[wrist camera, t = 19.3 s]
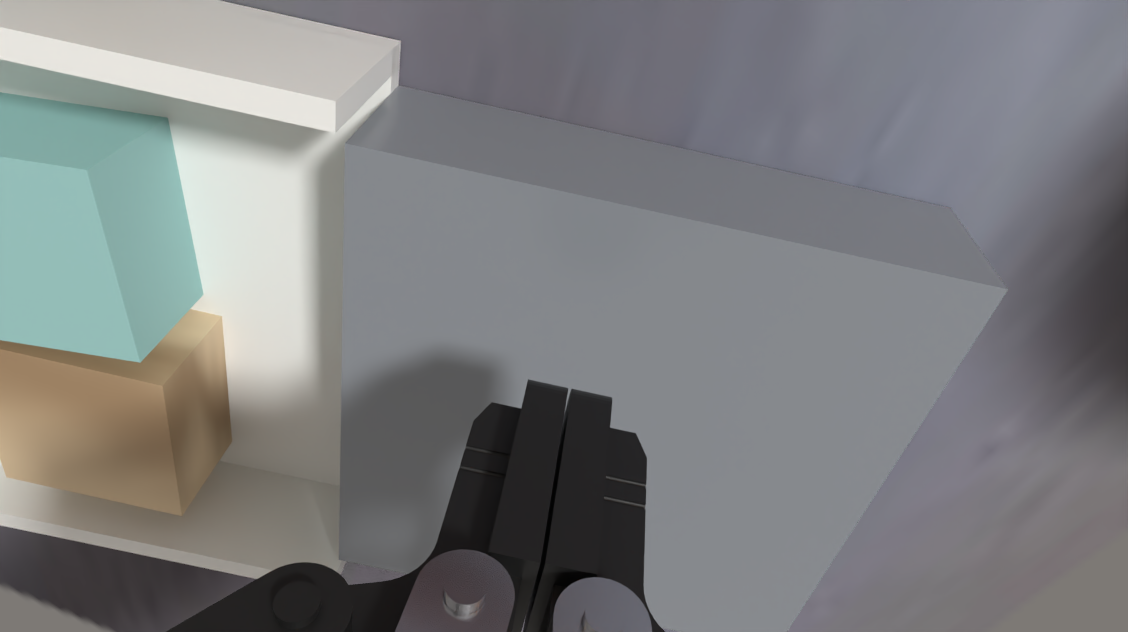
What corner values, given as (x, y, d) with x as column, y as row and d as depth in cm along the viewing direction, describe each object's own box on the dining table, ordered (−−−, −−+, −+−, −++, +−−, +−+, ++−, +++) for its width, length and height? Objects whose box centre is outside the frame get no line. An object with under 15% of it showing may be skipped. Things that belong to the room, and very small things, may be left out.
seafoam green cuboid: (86, 169, 15) (167, 118, 17) (-154, 133, 15) (-40, 86, 18) (140, 362, 18) (203, 294, 20) (-62, 330, 18) (25, 266, 20)
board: (398, 85, 17) (344, 143, 14) (951, 207, 17) (1008, 290, 14) (376, 470, 24) (338, 559, 22) (761, 552, 25) (774, 651, 22)
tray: (-165, -86, 16) (-373, -56, 13) (400, 40, 16) (335, 100, 13) (7, 412, 25) (-92, 506, 22) (375, 491, 25) (332, 595, 22)
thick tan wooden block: (162, 385, 18) (221, 316, 21) (-42, 339, 18) (42, 274, 20) (181, 516, 21) (232, 441, 24) (6, 477, 21) (74, 406, 23)
